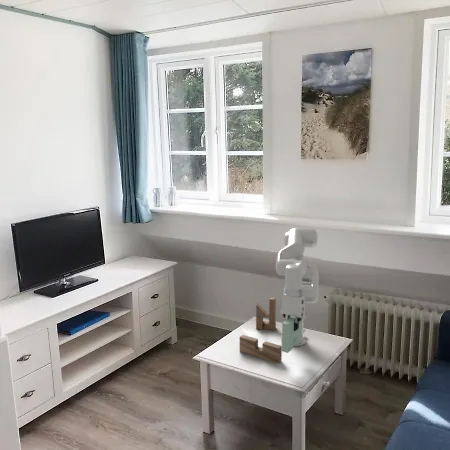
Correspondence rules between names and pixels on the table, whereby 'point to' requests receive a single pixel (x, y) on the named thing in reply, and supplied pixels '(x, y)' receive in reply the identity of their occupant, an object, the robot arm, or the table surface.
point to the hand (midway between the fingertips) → (292, 328)
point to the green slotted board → (290, 334)
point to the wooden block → (266, 316)
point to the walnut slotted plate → (261, 349)
